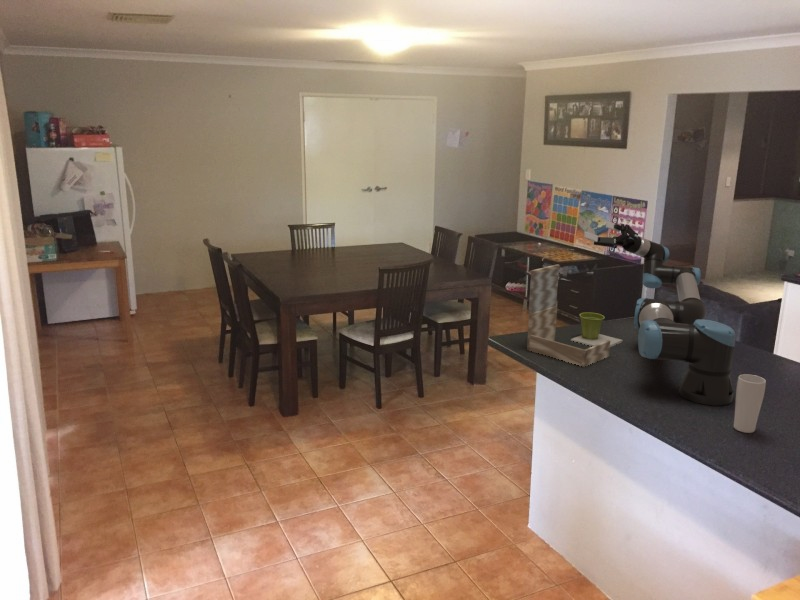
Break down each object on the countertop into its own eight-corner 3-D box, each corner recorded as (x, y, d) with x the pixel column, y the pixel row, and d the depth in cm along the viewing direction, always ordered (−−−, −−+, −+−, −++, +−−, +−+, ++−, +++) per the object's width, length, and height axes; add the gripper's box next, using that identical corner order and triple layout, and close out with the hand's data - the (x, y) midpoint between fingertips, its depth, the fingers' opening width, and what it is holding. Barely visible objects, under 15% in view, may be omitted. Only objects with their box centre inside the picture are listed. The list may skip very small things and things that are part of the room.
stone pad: (590, 333, 263) (590, 331, 262) (622, 342, 253) (622, 340, 252) (570, 340, 253) (570, 339, 253) (603, 350, 243) (603, 348, 243)
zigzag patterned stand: (551, 340, 254) (557, 264, 246) (608, 356, 237) (616, 275, 229) (525, 349, 243) (530, 270, 235) (584, 367, 226) (591, 282, 218)
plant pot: (600, 334, 259) (602, 313, 257) (604, 341, 250) (606, 319, 248) (576, 332, 261) (578, 311, 258) (579, 340, 252) (581, 318, 249)
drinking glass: (749, 423, 184) (757, 373, 180) (763, 435, 177) (771, 383, 174) (725, 424, 184) (733, 373, 180) (738, 435, 177) (746, 383, 173)
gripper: (616, 245, 288) (576, 230, 281) (658, 227, 266) (617, 210, 259) (614, 260, 286) (575, 246, 279) (657, 244, 263) (615, 228, 256)
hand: (595, 229), depth 269 cm, fingers open, 13 cm apart
